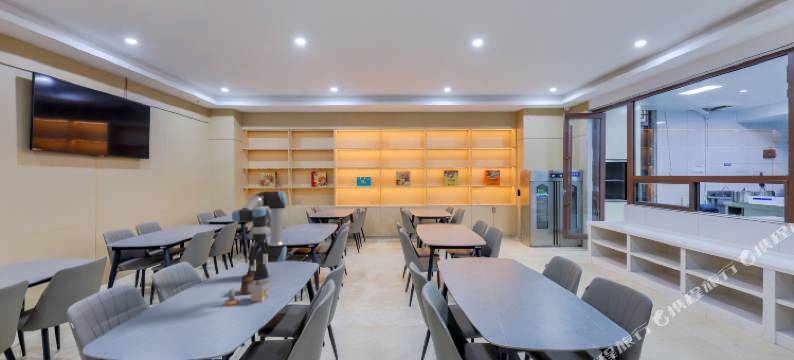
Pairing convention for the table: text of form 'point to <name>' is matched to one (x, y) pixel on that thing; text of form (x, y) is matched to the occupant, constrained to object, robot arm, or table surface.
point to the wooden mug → (247, 281)
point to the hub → (231, 299)
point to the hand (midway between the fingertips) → (259, 267)
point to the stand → (259, 294)
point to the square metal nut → (259, 286)
